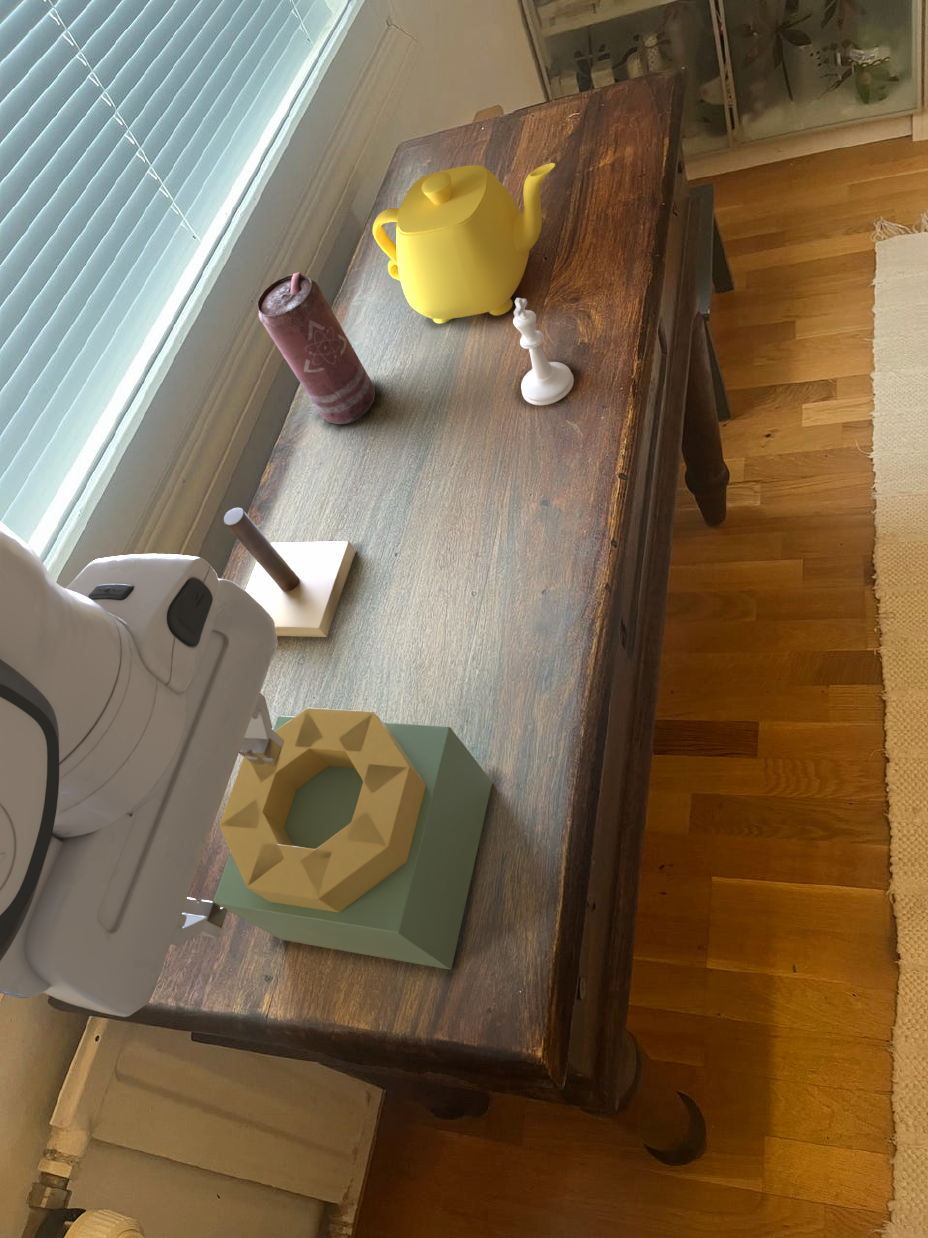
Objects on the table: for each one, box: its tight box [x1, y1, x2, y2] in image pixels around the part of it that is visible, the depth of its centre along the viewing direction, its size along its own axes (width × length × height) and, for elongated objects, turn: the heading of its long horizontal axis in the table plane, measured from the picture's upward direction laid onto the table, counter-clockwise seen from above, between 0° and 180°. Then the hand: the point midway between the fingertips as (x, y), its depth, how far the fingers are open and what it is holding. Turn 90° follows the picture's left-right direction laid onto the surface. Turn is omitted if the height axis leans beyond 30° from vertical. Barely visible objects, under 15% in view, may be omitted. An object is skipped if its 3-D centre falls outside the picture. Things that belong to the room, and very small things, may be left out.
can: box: [256, 271, 376, 425], centre depth 89 cm, size 6×6×14 cm
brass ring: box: [218, 707, 426, 913], centre depth 57 cm, size 12×12×3 cm
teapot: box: [372, 162, 556, 324], centre depth 92 cm, size 14×20×13 cm
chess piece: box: [512, 297, 575, 406], centre depth 82 cm, size 5×5×10 cm
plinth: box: [212, 715, 493, 970], centre depth 62 cm, size 13×13×9 cm
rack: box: [223, 507, 356, 638], centre depth 78 cm, size 9×9×11 cm
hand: (242, 834), depth 50 cm, fingers open, 8 cm apart
